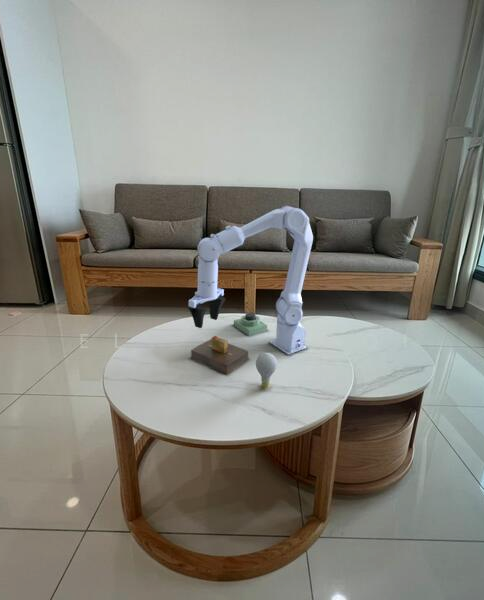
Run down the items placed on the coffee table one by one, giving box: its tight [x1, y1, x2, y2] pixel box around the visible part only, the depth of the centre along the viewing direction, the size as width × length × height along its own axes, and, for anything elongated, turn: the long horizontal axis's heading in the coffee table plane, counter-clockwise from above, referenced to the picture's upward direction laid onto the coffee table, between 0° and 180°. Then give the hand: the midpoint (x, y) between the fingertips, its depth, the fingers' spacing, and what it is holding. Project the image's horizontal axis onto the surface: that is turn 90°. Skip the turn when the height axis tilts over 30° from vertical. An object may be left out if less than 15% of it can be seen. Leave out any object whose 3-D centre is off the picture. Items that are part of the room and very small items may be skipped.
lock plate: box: [190, 338, 249, 375], centre depth 97 cm, size 14×10×3 cm
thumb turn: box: [210, 335, 229, 354], centre depth 95 cm, size 5×2×4 cm, turn 55°
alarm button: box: [245, 312, 256, 321], centre depth 116 cm, size 4×4×2 cm
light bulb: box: [255, 352, 278, 389], centre depth 83 cm, size 6×6×10 cm
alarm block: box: [233, 314, 268, 337], centre depth 117 cm, size 10×8×4 cm
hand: (206, 322), depth 98 cm, fingers open, 7 cm apart
